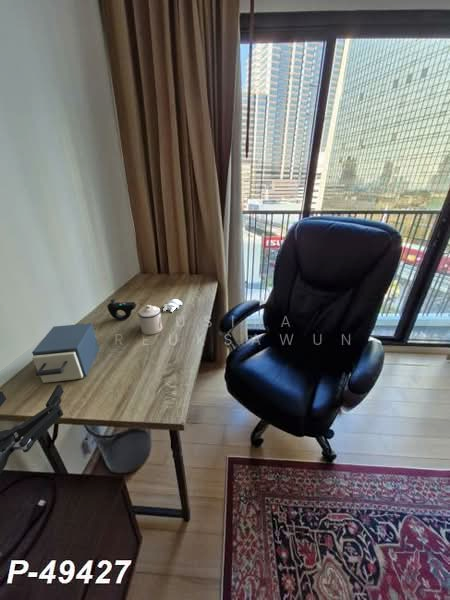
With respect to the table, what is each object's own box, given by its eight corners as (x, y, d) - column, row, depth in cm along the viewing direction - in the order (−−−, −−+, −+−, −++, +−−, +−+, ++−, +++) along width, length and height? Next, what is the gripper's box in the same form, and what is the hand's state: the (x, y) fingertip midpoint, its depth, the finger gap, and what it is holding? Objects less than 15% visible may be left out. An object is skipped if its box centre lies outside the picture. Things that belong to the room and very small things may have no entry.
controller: (112, 317, 118) (107, 298, 113) (139, 315, 119) (135, 296, 115) (109, 322, 114) (104, 302, 110) (137, 320, 115) (133, 301, 111)
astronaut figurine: (158, 311, 123) (157, 305, 122) (171, 300, 133) (171, 295, 132) (173, 314, 120) (173, 308, 119) (186, 303, 130) (185, 298, 129)
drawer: (76, 390, 76) (67, 364, 72) (35, 395, 75) (22, 369, 70) (94, 352, 93) (88, 329, 89) (61, 355, 91) (52, 333, 87)
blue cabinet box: (86, 376, 83) (76, 347, 78) (44, 381, 81) (31, 352, 76) (99, 349, 96) (91, 323, 91) (63, 353, 94) (53, 326, 89)
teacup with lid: (164, 332, 106) (161, 308, 101) (142, 337, 103) (138, 312, 98) (159, 319, 116) (156, 296, 111) (139, 323, 113) (134, 300, 108)
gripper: (-97, 503, 46) (-16, 408, 65) (51, 479, 49) (87, 395, 68) (-122, 480, 42) (-29, 387, 61) (38, 455, 46) (79, 374, 65)
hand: (32, 391), depth 65 cm, fingers open, 13 cm apart
